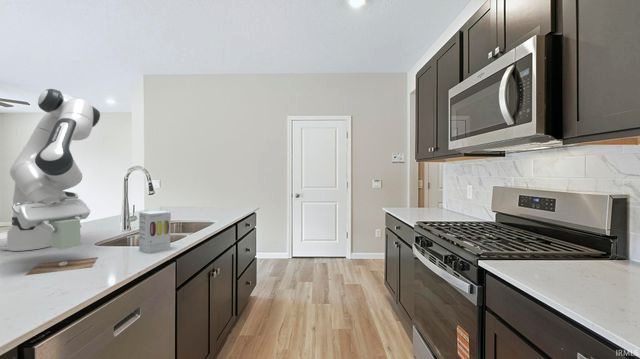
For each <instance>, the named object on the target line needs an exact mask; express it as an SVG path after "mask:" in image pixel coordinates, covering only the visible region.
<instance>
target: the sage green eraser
mask: <svg viewBox="0 0 640 359" xmlns="http://www.w3.org/2000/svg"><path fill="white" fill-rule="evenodd" d="M80 224H81V220H76V219H68V220H61V221H54V222H51V224H50V225H52V226H56V227H57V229H58V231H57V232H56V233H51V244H52V246H51V249H54V250H56V249H57V250H64V249H69V248H72V247H77V246H81V245H82V243H81V228H80Z"/></svg>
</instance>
